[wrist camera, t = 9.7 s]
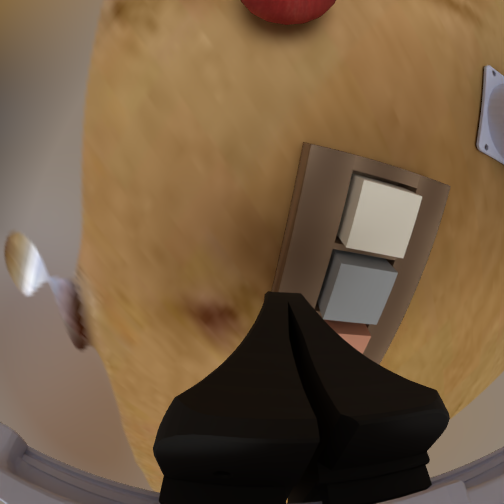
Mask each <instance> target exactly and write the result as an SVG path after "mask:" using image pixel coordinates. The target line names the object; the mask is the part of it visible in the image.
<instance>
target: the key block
mask: <svg viewBox="0 0 504 504" xmlns="http://www.w3.org/2000/svg"><path fill="white" fill-rule="evenodd" d="M352 174H356V175H360V176H364V177H368V178H371V179H375V180H379V181H382V182H386V183H389V184H393V185H396V186H399V187H403V188H405V189H407V190H409V191H412V192H414V193H416V194H418V195H420V196H422V200H421V204H420V207H419V211H418V214H417V217H416V221H415V224H414V227H413V231H412V234H411V237H410V240H409V243H408V246H407V249H406V252H405V255H404V257H403V258H398V257H393V256H388V255H383V254H378V253H372V252H367V251H362V250H356V249H351V248H346V247H345V245H344V244H343V243H342V241H341V240H340V238H339V237H338V236H337V232H338V228H339V224H340V220H341V216H342V213H343V209H344V205H345V201H346V197H347V192H348V188H349V184H350V180H351V175H352ZM449 190H450V186H449V185H446V184H444V183H441V182H438V181H436V180H433V179H430V178H428V177H425V176H422V175H419V174H416V173H413V172H410V171H407V170H404V169H401V168H398V167H395V166H392V165H389V164H385V163H382V162H379V161H375V160H372V159H368V158H365V157H361V156H358V155H354V154H350V153H346V152H343V151H339V150H335V149H331V148H326V147H322V146H318V145H313V144H309V143H304V142H303V147H302V152H301V157H300V162H299V167H298V172H297V177H296V182H295V187H294V192H293V197H292V201H291V206H290V211H289V215H288V220H287V225H286V229H285V234H284V239H283V243H282V248H281V252H280V257H279V261H278V266H277V270H276V274H275V279H274V283H273V287H272V292H286V293H301V294H302V295H303V296H304V297H305V299H306V300H307V301H308V302H309V303H310V305H311V306H312V307H313V308H314V309H315V311H316V312H317V313H318V314H319V315H320V316H321V317H322V315H321V312H320V309H319V305H318V302H317V300H318V296H319V293H320V290H321V287H322V284H323V280H324V277H325V274H326V270H327V267H328V264H329V260H330V257H331V253H332V250H333V249H336V250H341V251H347V252H353V253H358V254H363V255H369V256H374V257H380V258H385V259H386V260H387V261H388V262H389V263H390V264H391V265H392V267H393V268H394V269H395V270H396V271H397V272H398V274H397V277H396V279H395V282H394V285H393V287H392V290H391V292H390V295H389V297H388V299H387V302H386V304H385V307H384V309H383V311H382V314H381V316H380V318H379V320H378V323H377V325H374V324H366V326H367V328H368V330H369V332H370V334H371V338H370V340H369V342H368V344H367V346H366V348H365V350H364V352H363V355H365V356H366V357H368V358H369V359H371V360H372V361H374V362H376V363H377V364H380V362H381V361H382V359H383V357H384V355H385V353H386V351H387V349H388V347H389V346H390V344H391V342H392V340H393V338H394V336H395V334H396V332H397V330H398V328H399V326H400V324H401V321H402V319H403V317H404V315H405V313H406V311H407V309H408V306H409V304H410V302H411V300H412V297H413V295H414V293H415V290H416V288H417V285H418V283H419V281H420V278H421V276H422V273H423V271H424V268H425V265H426V263H427V260H428V257H429V255H430V252H431V249H432V246H433V243H434V240H435V237H436V234H437V231H438V228H439V225H440V222H441V218H442V215H443V212H444V208H445V205H446V201H447V198H448V194H449Z"/></svg>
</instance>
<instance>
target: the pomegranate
mask: <svg viewBox="0 0 504 504" xmlns="http://www.w3.org/2000/svg"><path fill="white" fill-rule="evenodd" d="M335 1H336V0H241V2H242V3H243V4H244V5H245V6H246V7H247V8H248V10H249V11H250V12H251V13H252V14H254V15H256V16H258V17H260V18H262V19H264V20H266V21H268V22H273V23H279V24H284V25H289V24H302V23H306V22H309V21H311V20H314V19H316V18H319V17H320V16H322V15H323V14H324V13H325V12H326V11H327V10H328V9H329V8H330V7H331V6H332V5H333V4H334V3H335Z"/></svg>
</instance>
